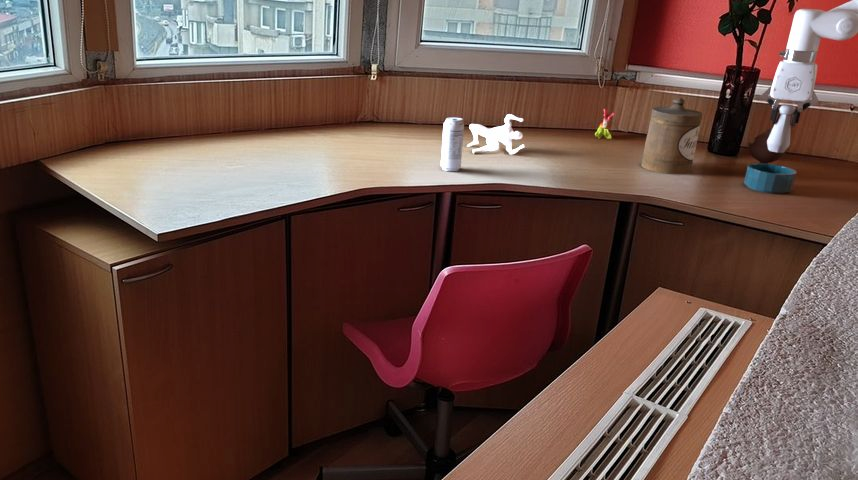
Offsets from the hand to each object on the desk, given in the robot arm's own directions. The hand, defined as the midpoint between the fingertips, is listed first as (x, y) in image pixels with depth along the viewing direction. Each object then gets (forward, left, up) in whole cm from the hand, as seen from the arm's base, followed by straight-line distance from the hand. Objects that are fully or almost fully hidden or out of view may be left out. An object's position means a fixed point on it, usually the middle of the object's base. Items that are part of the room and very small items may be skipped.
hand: (783, 123), depth 201 cm
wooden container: (+29, -7, -19) cm, 35 cm away
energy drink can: (+85, +35, -19) cm, 94 cm away
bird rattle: (+56, -42, -19) cm, 73 cm away
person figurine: (+82, +4, -19) cm, 84 cm away
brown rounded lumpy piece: (+2, -17, -19) cm, 26 cm away
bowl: (0, 0, -19) cm, 19 cm away
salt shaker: (0, 0, -8) cm, 8 cm away
